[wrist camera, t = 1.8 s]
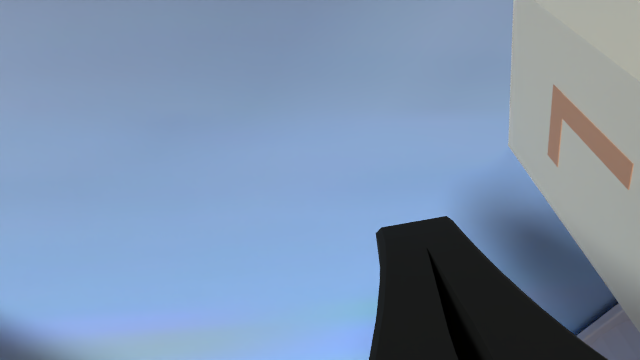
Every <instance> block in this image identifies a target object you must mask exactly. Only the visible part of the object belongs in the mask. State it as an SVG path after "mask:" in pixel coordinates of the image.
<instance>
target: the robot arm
mask: <svg viewBox="0 0 640 360" xmlns="http://www.w3.org/2000/svg"><path fill="white" fill-rule="evenodd" d="M376 239H377V246H378V254H379V262H380V285H379V296H378V307H377V316H376V323H375V329H374V334H373V340H372V346H371V352H370V357H369V360H640V333H639V331H638V330H637V328H636V327H635V325H634V324H633V323H632V321H631V320H630V318H629V317H628V315H627V314H626V313H625V311H624V310H623V308H622V307H621V305H620V304H619V303H618V304H617V305H616V306H614V307H613V308H612V309H610V310H609V311H608V312H607V313H605V314H604V315H603V316H601V317H600V318H599V319H598V320H596V321H595V322H594V323H592V324H591V325H590V326H588V327H587V328H586V329H585V330H583V331H582V332H581V333H579V334H578V335H577V336H575V335H574V334H573V333H572V332H570V331H569V330H568V329H566V328H565V327H564V326H563V325H561V324H560V323H559V322H558V321H557V320H555V319H554V318H553V317H552V316H551V315H549V314H548V313H547V312H546V311H544V310H543V309H542V308H541V307H540V306H539V305H537V304H536V303H535V302H534V301H533V300H532V299H531V298H529V297H528V296H527V295H526V294H525V293H524V292H523V291H522V290H521V289H519V288H518V287H517V286H516V285H515V284H514V283H513V282H512V281H511V280H510V279H509V278H508V277H506V276H505V275H504V274H503V273H502V272H501V271H500V270H499V269H498V268H497V267H496V266H495V265H494V264H493V263H492V262H491V261H490V260H489V259H488V258H487V257H486V256H485V255H484V254H483V253H482V252H481V251H480V250H479V249H478V248H477V247H476V246H475V245H474V244H473V243H472V242H471V241H470V239H469V238H468V237H467V236H466V235H465V234H464V233H463V232H462V231H461V230H460V228H459V227H458V226H457V225H456V224H455V223H454V222H453V220H451V219H450V218H448V217H447V216H444V217H439V218H433V219H427V220H422V221H416V222H410V223H405V224H399V225H393V226H388V227H382V228H381V229H380V230H379V231H378V232H377V233H376Z"/></svg>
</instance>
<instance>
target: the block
mask: <svg viewBox="0 0 640 360" xmlns="http://www.w3.org/2000/svg"><path fill="white" fill-rule="evenodd" d="M508 146H509V147H510V149H511V150H512V152H513V153H514V155H515V156H516V157H517V159H518V160H519V162H520V163H521V165H522V166H523V167H524V169H525V170H526V172H527V173H528V175H529V176H530V177H531V179H532V180H533V182H534V183H535V184H536V186H537V187H538V189H539V190H540V192H541V193H542V194H543V196H544V197H545V199H546V200H547V202H548V203H549V204H550V206H551V207H552V209H553V210H554V212H555V213H556V214H557V216H558V217H559V219H560V220H561V222H562V223H563V224H564V226H565V227H566V229H567V230H568V231H569V233H570V234H571V236H572V237H573V239H574V240H575V241H576V243H577V244H578V246H579V247H580V249H581V250H582V251H583V253H584V254H585V256H586V257H587V259H588V260H589V261H590V263H591V264H592V266H593V267H594V268H595V270H596V271H597V273H598V274H599V276H600V277H601V278H602V280H603V281H604V283H605V284H606V286H607V287H608V288H609V290H610V291H611V293H612V294H613V296H614V297H615V298H616V300H617V301H618V303H619V304H620V305H621V307H622V308H623V310H624V311H625V313H626V314H627V315H628V317H629V318H630V320H631V321H632V323H633V324H634V325H635V327H636V328H637V330H638V331H639V333H640V0H514V1H513V29H512V57H511V85H510V113H509V141H508Z"/></svg>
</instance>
